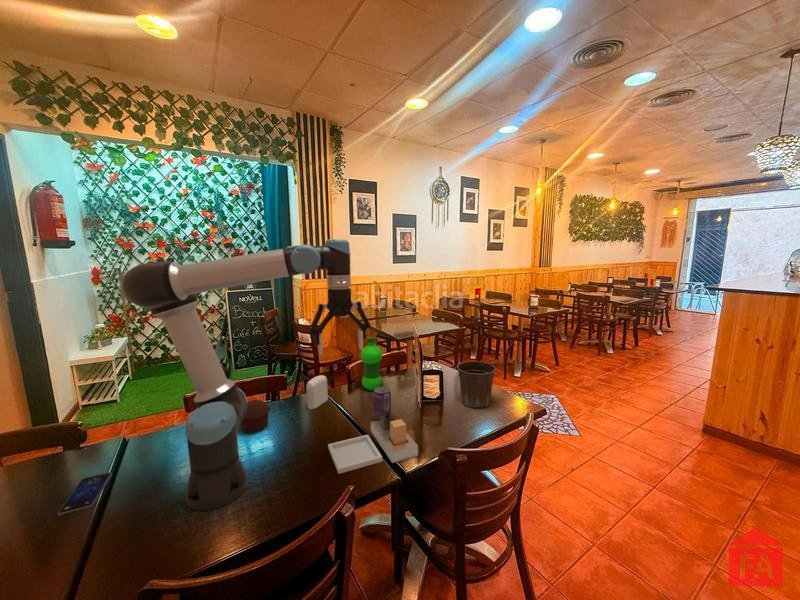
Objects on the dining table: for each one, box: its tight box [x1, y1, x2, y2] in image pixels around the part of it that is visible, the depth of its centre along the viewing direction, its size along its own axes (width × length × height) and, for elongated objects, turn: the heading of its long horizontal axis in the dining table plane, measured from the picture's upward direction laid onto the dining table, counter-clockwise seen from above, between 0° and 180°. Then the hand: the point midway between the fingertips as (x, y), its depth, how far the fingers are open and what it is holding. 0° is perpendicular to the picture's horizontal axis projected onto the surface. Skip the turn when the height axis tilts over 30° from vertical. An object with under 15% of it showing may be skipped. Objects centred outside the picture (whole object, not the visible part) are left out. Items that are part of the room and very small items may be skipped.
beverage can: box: [372, 385, 392, 421], centre depth 130 cm, size 7×7×12 cm
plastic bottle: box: [360, 336, 383, 391], centre depth 158 cm, size 10×10×25 cm
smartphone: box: [56, 471, 113, 517], centre depth 91 cm, size 7×1×15 cm
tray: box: [327, 434, 383, 475], centre depth 107 cm, size 14×14×2 cm
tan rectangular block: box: [390, 418, 407, 446], centre depth 109 cm, size 4×4×10 cm
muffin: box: [240, 399, 271, 434], centre depth 124 cm, size 12×11×10 cm
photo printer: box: [305, 374, 329, 410], centre depth 142 cm, size 10×4×12 cm, turn 152°
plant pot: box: [456, 360, 497, 409], centre depth 143 cm, size 16×16×16 cm
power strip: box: [370, 409, 419, 464], centre depth 113 cm, size 9×20×10 cm, turn 24°
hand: (341, 351), depth 110 cm, fingers open, 13 cm apart
